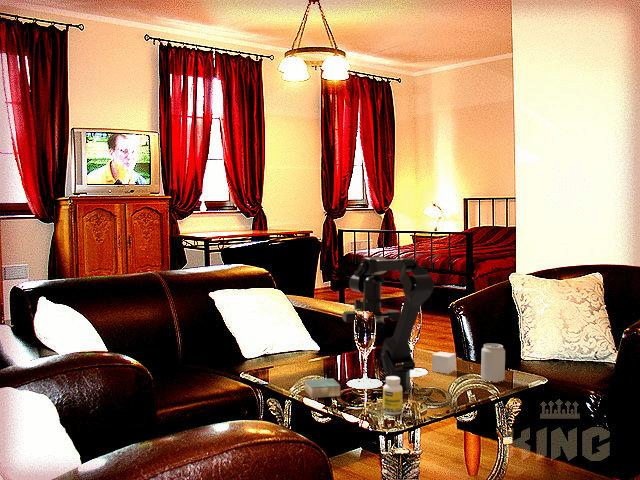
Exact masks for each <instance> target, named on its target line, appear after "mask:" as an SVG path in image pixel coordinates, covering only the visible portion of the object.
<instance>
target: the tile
mask: <svg viewBox="0 0 640 480" xmlns="http://www.w3.org/2000/svg"><path fill="white" fill-rule="evenodd" d="M304 392H305V393H306V394H307V395H308V396H309V397H310V398H311V399H315V398H327V397H328V398H329V397H340V396H341V384H339V382H337V381H336V380H335V379H334V378H321V379H320V378H319V379H307V380H306V379H305V380H304Z"/></svg>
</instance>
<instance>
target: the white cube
mask: <svg viewBox="0 0 640 480" xmlns="http://www.w3.org/2000/svg"><path fill="white" fill-rule="evenodd" d="M431 356H432V357H431V372H432V371H434V372H433V373H437V372H440V373H439V374H442V373H446V374H445V375H450V374H451V373H450V372H452V371H454V370H455V371H456V366H457V365H456V362H457V361H456V360H457V359H456V358H457V357H456V356H457V354H456V353H452V352H445V351H437V352H436V353H433V354H432V355H431ZM455 371H454V372H455ZM449 373H450V374H449ZM452 373H453V372H452Z"/></svg>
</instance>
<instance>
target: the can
mask: <svg viewBox="0 0 640 480" xmlns="http://www.w3.org/2000/svg"><path fill="white" fill-rule="evenodd" d="M480 354H481V355H480V356H481V358H480V359H481V360H480V362H481V363H480V364H481V365H480V379H481V380H482V381H483V380H486V381H493V382H498V381H502V382H504V381H505V378H506V376H505V373H506V372H505V370H506V369H505V368H506V367H505V366H506V350H505V348H504V345H502V344H499V343H484V344H483V347H482V348H481V353H480ZM503 380H504V381H503Z"/></svg>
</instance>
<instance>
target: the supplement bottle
mask: <svg viewBox="0 0 640 480" xmlns="http://www.w3.org/2000/svg"><path fill="white" fill-rule="evenodd" d="M386 383H387V384H386ZM399 384H400V378H399V377H397V376H388V377H386V376H385V384H384V385H383V388H382V412H383V413H384V414H386V415H393V416H394V415H400V414H401V413H402V412H403V393H402V386H401V385H399Z"/></svg>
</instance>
